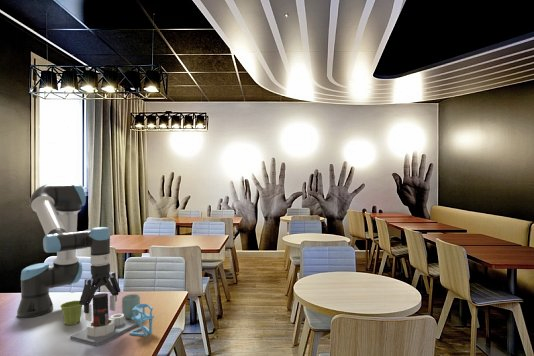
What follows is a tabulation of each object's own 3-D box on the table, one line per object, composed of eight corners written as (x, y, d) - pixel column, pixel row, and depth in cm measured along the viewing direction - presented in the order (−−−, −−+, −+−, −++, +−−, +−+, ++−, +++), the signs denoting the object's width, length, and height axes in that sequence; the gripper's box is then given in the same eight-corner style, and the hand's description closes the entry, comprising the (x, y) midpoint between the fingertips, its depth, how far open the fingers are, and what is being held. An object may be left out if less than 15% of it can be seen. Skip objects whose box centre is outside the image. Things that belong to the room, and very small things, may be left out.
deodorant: (96, 328, 153) (95, 293, 154) (110, 327, 154) (109, 292, 154) (91, 334, 148) (90, 298, 148) (105, 333, 148) (104, 297, 148)
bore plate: (70, 338, 146) (70, 327, 146) (113, 319, 166) (113, 309, 166) (97, 345, 140) (97, 334, 140) (139, 325, 160) (139, 314, 160)
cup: (133, 321, 164) (133, 299, 164) (118, 320, 165) (118, 299, 165) (143, 315, 171) (142, 294, 171) (128, 314, 173) (128, 293, 173)
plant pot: (59, 328, 157) (59, 308, 157) (61, 321, 166) (60, 302, 166) (83, 324, 162) (83, 305, 162) (83, 317, 170) (83, 299, 170)
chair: (141, 339, 145) (141, 309, 145) (128, 334, 150) (128, 306, 150) (156, 332, 152) (156, 304, 152) (143, 328, 156) (143, 300, 156)
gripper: (81, 271, 139) (82, 327, 138) (128, 258, 160) (129, 307, 160) (68, 269, 142) (69, 324, 142) (116, 257, 163) (117, 304, 163)
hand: (101, 315), depth 151 cm, fingers open, 11 cm apart
